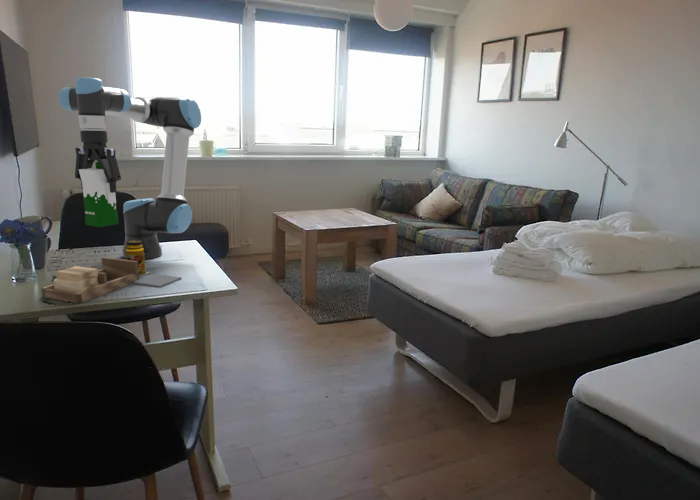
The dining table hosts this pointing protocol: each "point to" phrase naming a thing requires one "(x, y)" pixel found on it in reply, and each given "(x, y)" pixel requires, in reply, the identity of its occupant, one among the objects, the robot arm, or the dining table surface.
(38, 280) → the dining table surface
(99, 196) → the soya milk
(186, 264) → the dining table surface
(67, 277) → the offcut stack
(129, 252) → the condiment
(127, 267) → the tray
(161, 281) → the mat
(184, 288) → the dining table surface
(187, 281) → the dining table surface
